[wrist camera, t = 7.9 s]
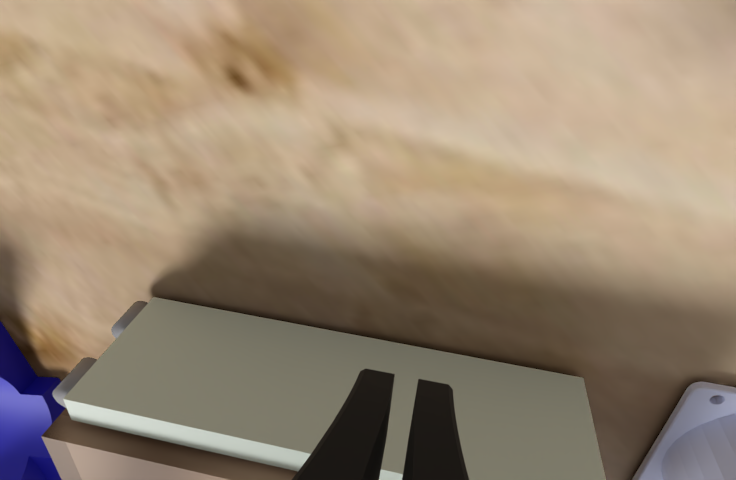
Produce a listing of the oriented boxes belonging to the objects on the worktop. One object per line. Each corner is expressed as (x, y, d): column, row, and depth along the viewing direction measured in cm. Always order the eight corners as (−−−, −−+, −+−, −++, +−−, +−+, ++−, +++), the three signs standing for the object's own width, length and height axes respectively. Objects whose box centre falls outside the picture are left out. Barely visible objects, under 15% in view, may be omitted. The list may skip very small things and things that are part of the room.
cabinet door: (583, 377, 21) (615, 521, 16) (574, 397, 21) (603, 540, 16) (135, 293, 23) (40, 394, 18) (140, 313, 24) (49, 414, 19)
